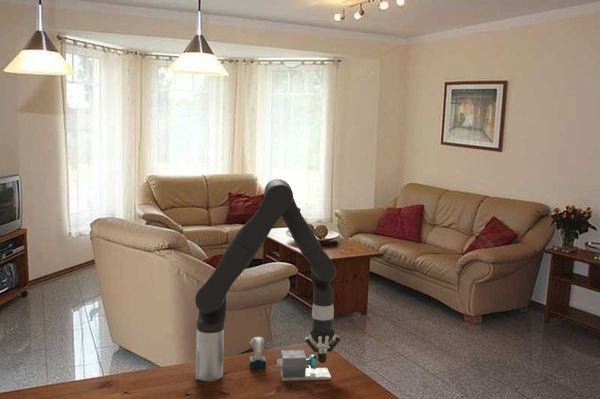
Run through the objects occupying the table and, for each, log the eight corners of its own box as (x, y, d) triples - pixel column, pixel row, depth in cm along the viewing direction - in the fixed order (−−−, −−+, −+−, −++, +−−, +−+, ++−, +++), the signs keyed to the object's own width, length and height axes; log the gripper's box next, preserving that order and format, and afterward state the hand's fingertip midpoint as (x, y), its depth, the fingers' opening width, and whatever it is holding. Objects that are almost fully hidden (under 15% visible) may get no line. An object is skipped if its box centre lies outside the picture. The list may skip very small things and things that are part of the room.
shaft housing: (282, 380, 190) (283, 358, 189) (280, 371, 197) (281, 350, 196) (330, 379, 193) (331, 357, 192) (327, 370, 200) (328, 349, 199)
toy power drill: (264, 362, 204) (265, 333, 203) (265, 371, 197) (267, 342, 195) (249, 362, 204) (249, 333, 202) (250, 372, 196) (251, 342, 194)
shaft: (277, 372, 191) (278, 358, 190) (276, 366, 196) (277, 352, 195) (316, 371, 193) (317, 358, 192) (314, 365, 198) (314, 352, 197)
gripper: (305, 320, 188) (305, 368, 191) (343, 318, 190) (342, 366, 193) (302, 312, 195) (302, 358, 198) (339, 311, 197) (338, 356, 200)
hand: (322, 362), depth 195 cm, fingers closed
